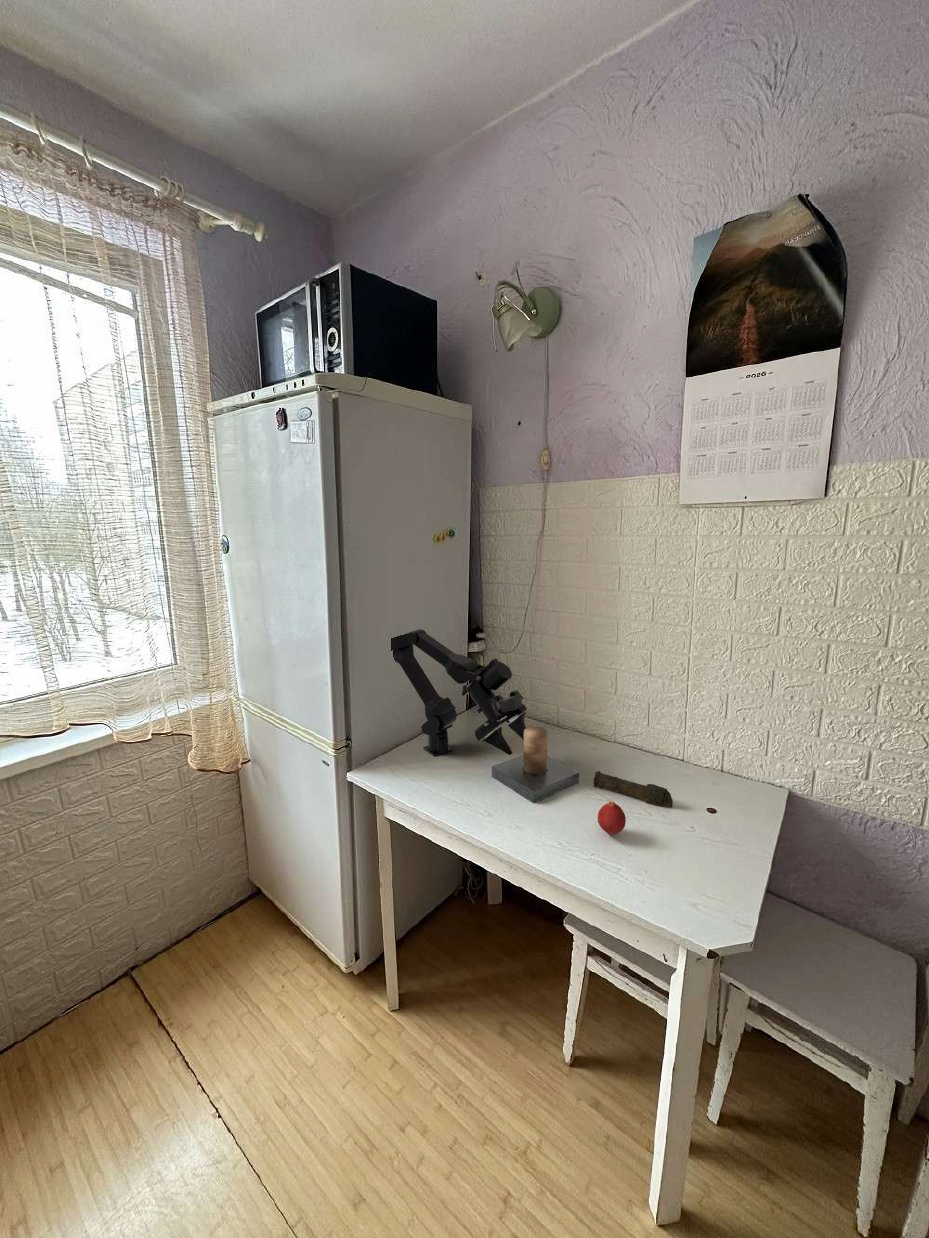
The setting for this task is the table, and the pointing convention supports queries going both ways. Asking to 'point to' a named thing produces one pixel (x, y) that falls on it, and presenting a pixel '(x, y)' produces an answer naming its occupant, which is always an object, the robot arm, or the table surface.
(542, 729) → the walnut pin
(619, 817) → the red pomegranate
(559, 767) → the socket block
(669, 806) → the hand tool
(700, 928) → the table surface
